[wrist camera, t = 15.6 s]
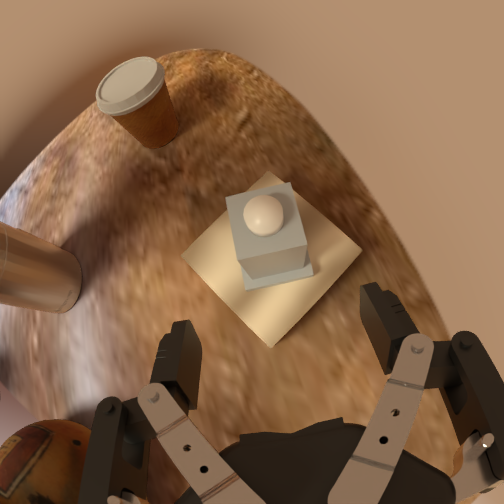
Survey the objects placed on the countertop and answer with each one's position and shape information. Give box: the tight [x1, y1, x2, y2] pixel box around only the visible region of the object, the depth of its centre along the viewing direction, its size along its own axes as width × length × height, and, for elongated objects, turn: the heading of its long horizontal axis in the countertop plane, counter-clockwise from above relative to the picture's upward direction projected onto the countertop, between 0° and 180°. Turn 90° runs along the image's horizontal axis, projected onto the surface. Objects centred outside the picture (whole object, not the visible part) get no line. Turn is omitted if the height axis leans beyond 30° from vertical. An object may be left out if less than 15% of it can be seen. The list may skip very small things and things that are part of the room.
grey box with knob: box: [225, 182, 314, 292], centre depth 24 cm, size 6×6×10 cm
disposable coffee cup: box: [96, 57, 179, 148], centre depth 35 cm, size 10×10×12 cm
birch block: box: [181, 170, 362, 348], centre depth 32 cm, size 13×13×5 cm
